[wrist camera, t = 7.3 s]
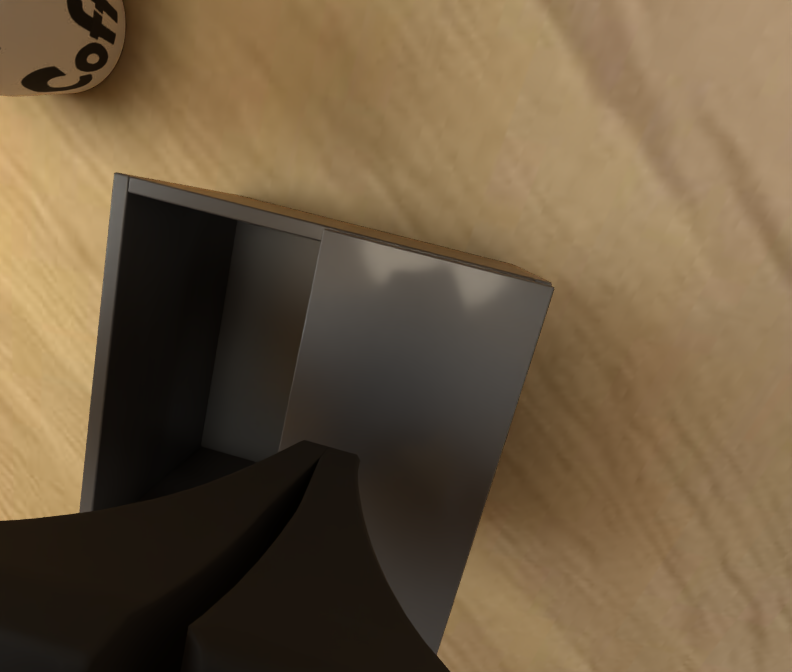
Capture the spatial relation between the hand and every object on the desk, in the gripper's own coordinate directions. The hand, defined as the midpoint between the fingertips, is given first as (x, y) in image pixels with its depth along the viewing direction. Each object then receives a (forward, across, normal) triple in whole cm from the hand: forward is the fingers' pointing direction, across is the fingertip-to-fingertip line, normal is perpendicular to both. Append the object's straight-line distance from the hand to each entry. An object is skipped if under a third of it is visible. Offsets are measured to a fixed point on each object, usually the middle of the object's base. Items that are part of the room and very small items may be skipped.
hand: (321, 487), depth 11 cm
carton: (+9, +2, 0) cm, 9 cm away
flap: (+2, -1, 0) cm, 2 cm away
